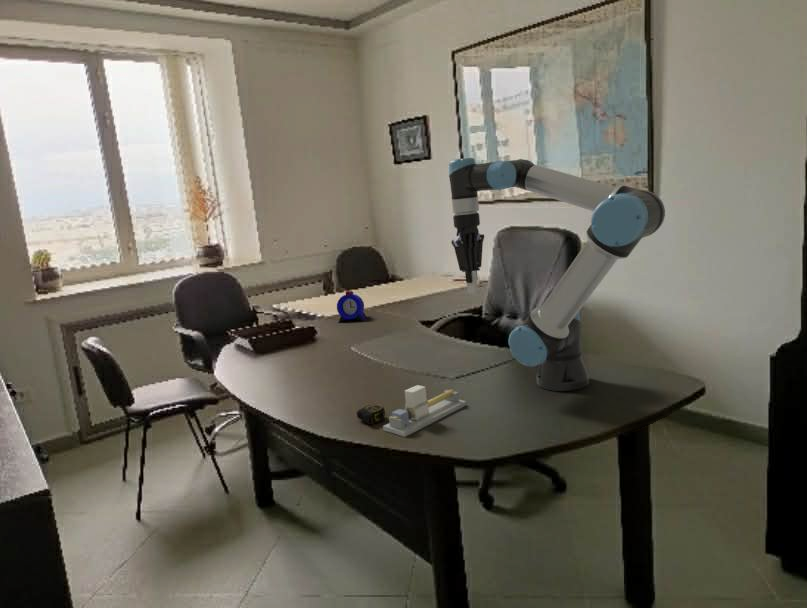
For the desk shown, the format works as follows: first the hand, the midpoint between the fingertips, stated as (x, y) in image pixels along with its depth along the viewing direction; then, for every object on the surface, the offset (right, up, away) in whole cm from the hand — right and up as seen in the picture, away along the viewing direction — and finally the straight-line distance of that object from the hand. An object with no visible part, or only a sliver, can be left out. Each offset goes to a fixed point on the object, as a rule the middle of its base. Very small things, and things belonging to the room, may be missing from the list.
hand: (472, 292), depth 181 cm
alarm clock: (-45, -11, +119) cm, 128 cm away
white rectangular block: (-17, -34, -16) cm, 41 cm away
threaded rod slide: (-14, -34, -14) cm, 40 cm away
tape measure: (-29, -36, -12) cm, 48 cm away
